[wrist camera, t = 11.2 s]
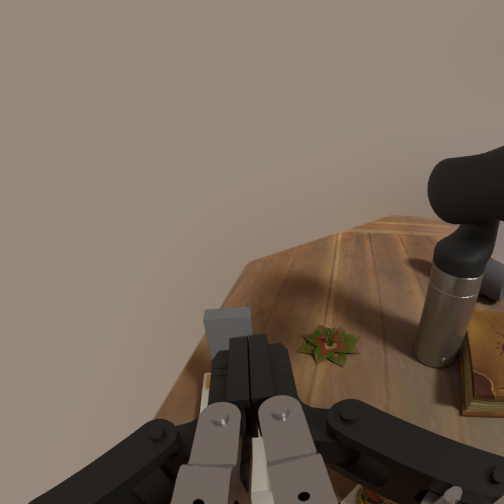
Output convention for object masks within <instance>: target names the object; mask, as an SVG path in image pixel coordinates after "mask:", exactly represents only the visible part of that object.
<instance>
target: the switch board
mask: <svg viewBox="0 0 504 504" xmlns="http://www.w3.org/2000/svg"><path fill="white" fill-rule="evenodd" d="M210 378H211V373H204V381H203V390H202V399H201V408H200V413H201V412H202V410H203V409H204V408H206V407H207V405H208V396H209V387H210ZM258 434H259V437H257V438H252V444H253V451H252V452H253V466H252V486H251V500H252V504H274V500H273V495H272V490H271V484H270V479H269V474H268V468H267V460H266V454H265V449H264V443H263V438H262V437H260V433H259V429H258Z"/></svg>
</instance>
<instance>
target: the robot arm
mask: <svg viewBox="0 0 504 504" xmlns="http://www.w3.org/2000/svg"><path fill="white" fill-rule="evenodd" d="M427 190H428V198H429V201H430V204H431V207H432V209H433V210H434V212H435V213H436V214H437V215H438V217H439V218H441V219H442V220H443V221H445V222H447V223H451V224H460V226H459V228H458V229H457V230H456V231H455V232H454V233H452V234H451V235H449V236H447V237H445V238H444V239H442V240H440V241H439V242H438V243H437V244H436V246H435V249H434V255H433V261H432V267H431V273H430V279H429V284H428V289H427V293H426V298H425V302H424V307H423V311H422V315H421V319H420V323H419V327H418V330H417V334H416V337H415V341H414V344H413V353H414V355H415V357H416V358H417V359H418V360H419V361H420V362H422V363H423V364H425V365H427V366H430V367H436V368H441V367H446V366H448V365H450V364H452V363H453V362H454V361H455V359H456V356H457V354H458V352H459V349H460V347H461V344H462V342H463V339H464V337H465V334H466V331H467V328H468V325H469V323H470V320H471V317H472V314H473V310H474V307H475V304H476V301H477V297H478V294H479V290H480V286H481V282H482V279H483V275H484V270H485V266H486V264H487V262H488V261H489V259H490V257H491V255H492V252H493V250H494V246H495V241H496V237H497V231H498V227H499V222H500V220H501V221H504V146H502V147H499V148H497V149H494V150H492V151H489V152H486V153H482V154H479V155H472V156H465V157H458V158H448V159H444V160H442V161H440V162H439V163H438V164H437V165H436V166H435V167H434V169H433V171H432V173H431V175H430V177H429V181H428V189H427ZM258 429H259V433H260V437H262V438H263V443H264V449H265V454H266V460H267V468H268V474H269V479H270V484H271V490H272V495H273V500H274V504H341V503H338V502H337V499H336V496H335V493H334V490H333V487H332V484H331V481H330V478H329V476H328V473H327V470H326V467H325V464H324V463H326V464H327V465H328V466H329V467H330V468H332V469H334V470H335V471H337V472H339V473H340V474H342V475H344V476H345V477H347V478H349V479H351V480H352V481H354V482H356V483H358V484H360V485H361V486H363V487H365V488H367V489H369V490H371V491H373V492H375V493H377V494H379V495H381V496H383V497H385V498H387V499H389V500H391V501H393V502H395V503H397V504H493V503H494V502H496V501H497V500H498V499H500V498H501V497H502V496H503V495H504V457H502V456H499V455H496V454H492V453H489V452H486V451H483V450H480V449H477V448H474V447H471V446H468V445H465V444H462V443H459V442H457V441H454V440H451V439H448V438H446V437H443V436H441V435H438V434H435V433H433V432H430V431H428V430H425V429H423V428H420V427H418V426H416V425H413V424H411V423H408V422H406V421H404V420H401V419H399V418H397V417H395V416H392V415H390V414H388V413H386V412H383V411H381V410H379V409H377V408H375V407H373V406H370V405H368V404H366V403H364V402H362V401H359V400H356V399H346V400H342V401H339V402H337V403H336V404H334V405H333V406H332V407H331V408H330V409H321V408H313V407H310V406H307V405H305V404H304V403H303V402H301V400H300V399H299V397H298V395H297V391H296V386H295V382H294V377H293V373H292V368H291V363H290V359H289V354H288V350H287V349H286V348H285V347H284V346H283V345H282V344H281V343H276V344H269V345H268V342H267V336H266V333H261V334H254V335H249V340H248V336H239V337H231V338H230V339H229V350H222V351H218V352H217V354H216V355H215V357H214V358H213V360H212V370H211V378H210V387H209V396H208V405H207V407H206V408H204V409H203V410H202V412H201V413H200V415H199V418H198V419H196V420H194V421H192V422H189V423H186V424H182V425H179V426H175V425H174V424H173V423H172V422H170V421H168V420H164V419H155V420H152V421H149V422H147V423H146V424H144V425H143V426H142V427H140V428H139V429H138V430H136V431H135V432H134V433H132V434H131V435H130V436H128V437H127V438H126V439H124V440H123V441H122V442H120V443H119V444H117V445H116V446H115V447H113V448H112V449H110V450H109V451H108V452H106V453H105V454H103V455H102V456H101V457H99V458H98V459H96V460H95V461H93V462H92V463H91V464H89V465H88V466H86V467H85V468H83V469H82V470H80V471H79V472H77V473H76V474H74V475H73V476H71V477H70V478H68V479H66V480H65V481H63V482H62V483H60V484H59V485H57V486H55V487H54V488H52V489H51V490H49V491H47V492H46V493H44V494H42V495H41V496H39V497H37V498H36V499H34V500H32V501H31V502H29V503H28V504H169V503H170V502H171V504H252V500H251V486H252V466H253V452H252V451H253V444H252V438H257V437H259V434H258Z"/></svg>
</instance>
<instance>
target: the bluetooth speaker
mask: <svg viewBox="0 0 504 504" xmlns="http://www.w3.org/2000/svg"><path fill="white" fill-rule="evenodd" d="M478 295H479V296H482V295H485V296H488V297H490V298H492V299H494V300H497V301H501V300H502V299H503V298H504V264H502V263H500V262H498V261H496V260H494V259H492V258H490V259H489V261H488V262H487V264H486V266H485V270H484V275H483V279H482V282H481V286H480V290H479V294H478Z"/></svg>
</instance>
